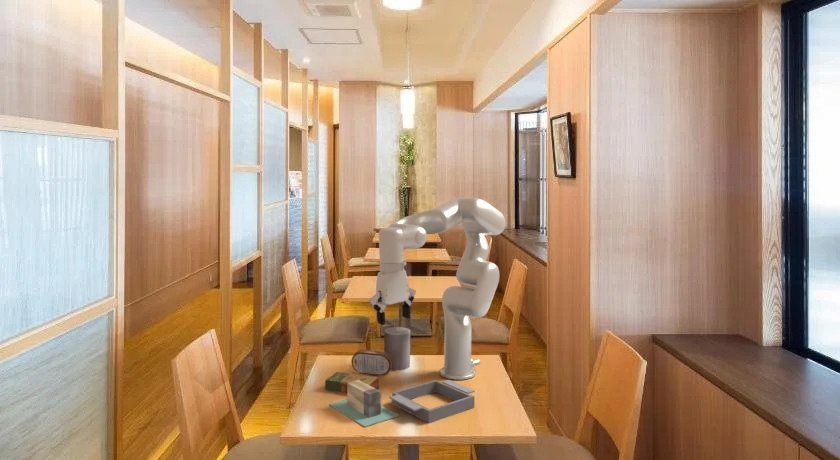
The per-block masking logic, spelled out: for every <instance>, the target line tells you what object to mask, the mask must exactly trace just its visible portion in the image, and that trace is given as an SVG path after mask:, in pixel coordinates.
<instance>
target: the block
mask: <svg viewBox="0 0 840 460" xmlns="http://www.w3.org/2000/svg"><path fill="white" fill-rule="evenodd" d="M346 394H347V403H348V405H349V406H350V407H352V408H354V409H355V410H357V411H359V412H361V413H362V414H364V415H366V416H367V417H369V418H370V417H374V416H377V415H380V414H381V406H382V403H381V402H382V401H381V400H382V392H381V390H379V389H375V388H373V387H371V386H369V385H367V384H365V383H363V382H362V381H360V380H356V381H352V382H348V383H347V393H346Z"/></svg>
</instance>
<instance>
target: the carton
mask: <svg viewBox="0 0 840 460" xmlns="http://www.w3.org/2000/svg"><path fill="white" fill-rule="evenodd" d="M356 380H360V381H362V382H363V383H365V384H367V385H369V386H371V387H373V388H375V389H377V390H379V388H380V376H376V375H367V374H355V373H350V372H349V373H347V372H340V371H336V372H335V373H333V374H332V375H331V376H329V377H327V378H326V379H325V380H324V382H325V383H324V384H325V385H324V387H325V388H324V389H325V391H326V392H327V391H328V392H334V393H342V394H347V383H348V382H352V381H356Z"/></svg>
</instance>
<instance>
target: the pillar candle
mask: <svg viewBox="0 0 840 460" xmlns="http://www.w3.org/2000/svg"><path fill="white" fill-rule="evenodd" d="M383 335H384V337H383V342H384V343H383V347H384V348H383V352H386V353H387V354H389V355H390V356H391V358H392V360H393V367H392V369H391V370H390V371H395V370H398V371H404V370H406V369H409V368H410V367H411V329H410V328H407V327H402V326H393V327H388V328H386V329H384V334H383Z"/></svg>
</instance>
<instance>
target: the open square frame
mask: <svg viewBox="0 0 840 460" xmlns="http://www.w3.org/2000/svg"><path fill="white" fill-rule="evenodd" d="M433 393H438V394H440V395H442V396H444V397H446V398H449V399H451V400H453V401H451V402H448V403H445V404H442V405H438V406H435V407H432V408H428V407H426V406H424V405H422V404H420V403H418V402H416V401H414V399H417V398H420V397H423V396H426V395H430V394H433ZM473 393H475V390H474V389H472V388H469V387H467V386H464V385H463V384H461V383H457V382H455V381H454V380H453V381H452V379H446V380H444V381H439V380H437V379H434V380H431V381H428V382H424V383H422V384H421V383H420V384H416V385H413V386H410V387H407V388H403V389H399V390H396V391H393V392H391V396H390V397H389V399H390V400H391V404H392V405H394V406H396V407H398V408H399V409H401V410H404V411H405V412H408V413H410V414H411V415H413V416H414V417H417V418H419V419H420V420H423V421H424V422H426V423H428V424H431V423H434V422H436V421H440V420H441V419H445V418H448V417H451V416H453V415H456V414H459V413H462V412H465V411H468V410H471V409H473V408H475V396H474V395H472V394H473Z"/></svg>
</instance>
